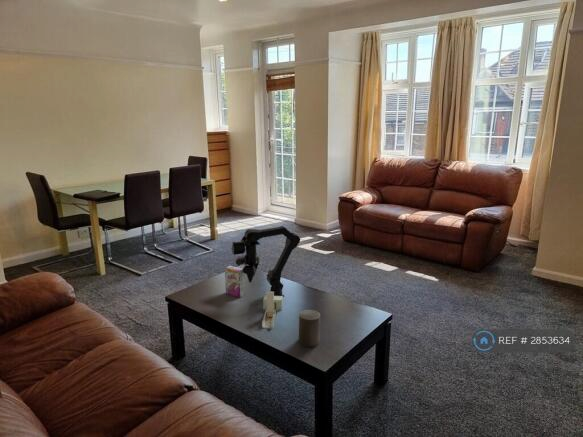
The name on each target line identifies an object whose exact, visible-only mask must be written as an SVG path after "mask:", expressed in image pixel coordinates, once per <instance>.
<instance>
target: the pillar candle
mask: <svg viewBox="0 0 583 437" xmlns="http://www.w3.org/2000/svg"><path fill="white" fill-rule="evenodd" d="M298 314H299V315H298V316H299V317H298V343H299V344H300V345H301V346H302V347H305V348H306V347H307V348H315V347H316V346H319V344H320V337H321V336H320V334H321V333H320V328H321V313H320V312H318V311H317V310H312V309H305V310H302V311H300V312H299V313H298Z"/></svg>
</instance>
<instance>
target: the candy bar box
mask: <svg viewBox="0 0 583 437" xmlns="http://www.w3.org/2000/svg"><path fill="white" fill-rule="evenodd" d="M245 275H246V274H245V273H243V268H241V267H237V266H233V265H228V266H226V267H224V278H225V294H226V295H230V296H232V297H233V296H234V297H236V298H243V297H244V296H246V278H245Z"/></svg>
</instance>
